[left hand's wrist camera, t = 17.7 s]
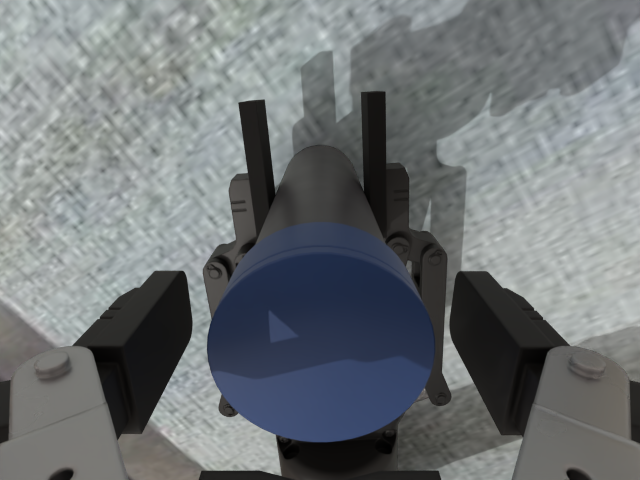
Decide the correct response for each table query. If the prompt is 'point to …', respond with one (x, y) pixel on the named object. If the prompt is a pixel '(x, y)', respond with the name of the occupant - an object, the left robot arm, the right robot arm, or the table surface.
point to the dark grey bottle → (320, 194)
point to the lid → (321, 334)
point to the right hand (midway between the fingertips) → (312, 97)
